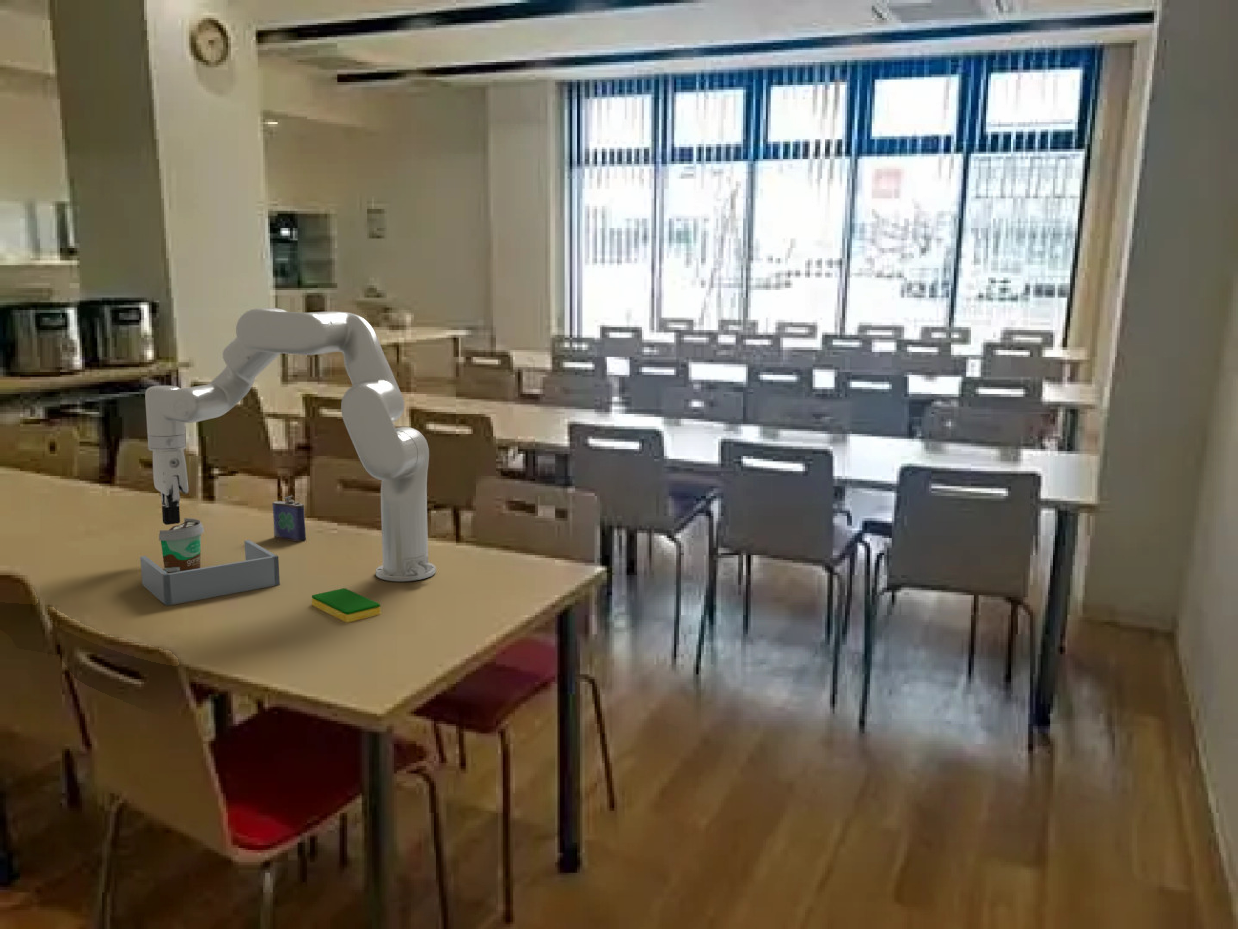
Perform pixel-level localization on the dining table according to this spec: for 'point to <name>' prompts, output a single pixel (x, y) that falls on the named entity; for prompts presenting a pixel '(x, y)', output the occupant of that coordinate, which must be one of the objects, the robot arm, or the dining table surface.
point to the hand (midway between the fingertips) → (171, 523)
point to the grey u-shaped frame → (212, 577)
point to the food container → (182, 546)
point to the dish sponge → (346, 605)
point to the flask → (289, 520)
